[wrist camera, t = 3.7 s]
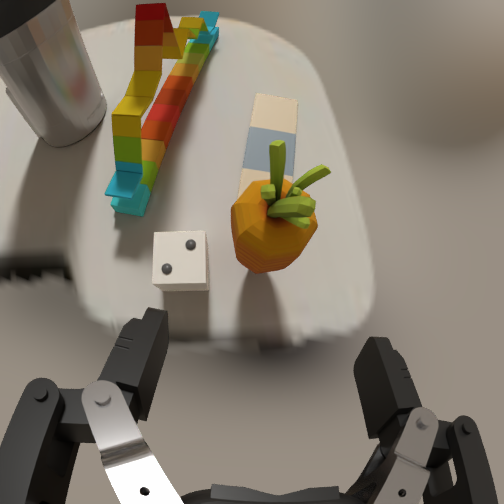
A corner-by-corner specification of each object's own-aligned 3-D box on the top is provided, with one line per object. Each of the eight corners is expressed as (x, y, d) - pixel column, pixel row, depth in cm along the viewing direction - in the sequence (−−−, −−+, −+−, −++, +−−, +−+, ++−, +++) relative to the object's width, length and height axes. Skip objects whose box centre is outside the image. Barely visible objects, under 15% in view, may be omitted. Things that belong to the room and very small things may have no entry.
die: (163, 291, 25) (152, 283, 21) (163, 246, 26) (153, 231, 22) (208, 290, 25) (205, 282, 21) (208, 245, 26) (205, 230, 22)
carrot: (234, 229, 27) (247, 116, 12) (288, 241, 27) (352, 144, 13) (221, 282, 25) (218, 213, 11) (278, 295, 26) (345, 243, 11)
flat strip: (233, 220, 27) (233, 219, 27) (255, 94, 32) (255, 92, 31) (287, 228, 27) (288, 227, 27) (297, 101, 32) (297, 100, 32)
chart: (197, 35, 35) (196, -48, 21) (218, 36, 35) (221, -47, 21) (114, 212, 27) (41, 113, 12) (143, 217, 27) (82, 112, 12)
